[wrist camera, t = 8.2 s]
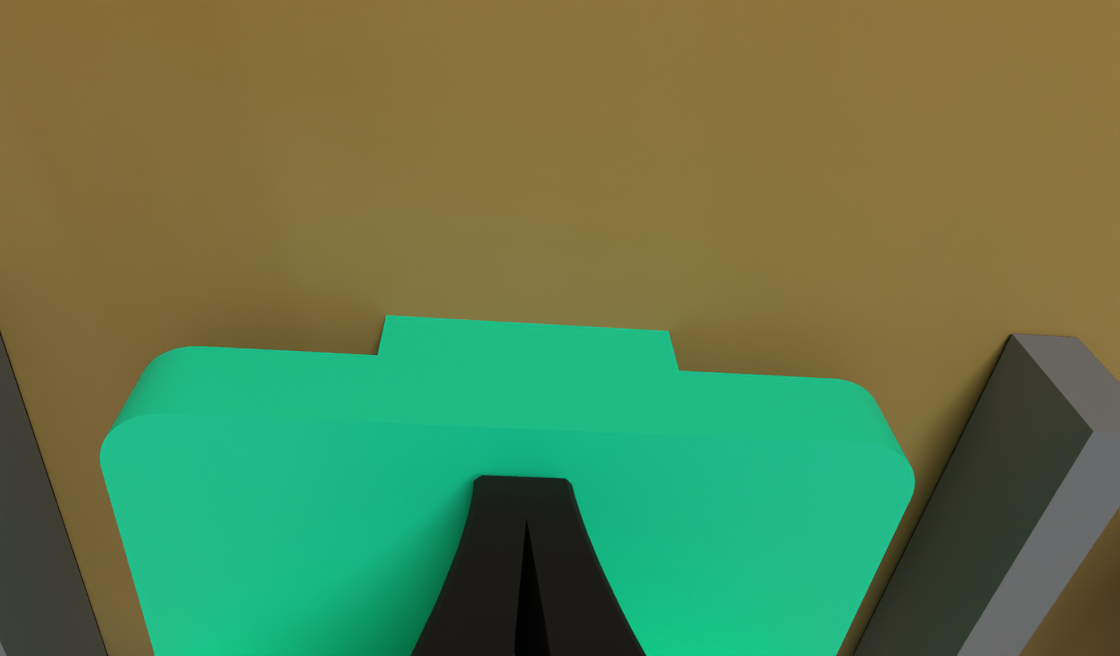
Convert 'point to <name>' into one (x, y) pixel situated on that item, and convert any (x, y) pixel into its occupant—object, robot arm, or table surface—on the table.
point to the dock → (913, 592)
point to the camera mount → (500, 450)
